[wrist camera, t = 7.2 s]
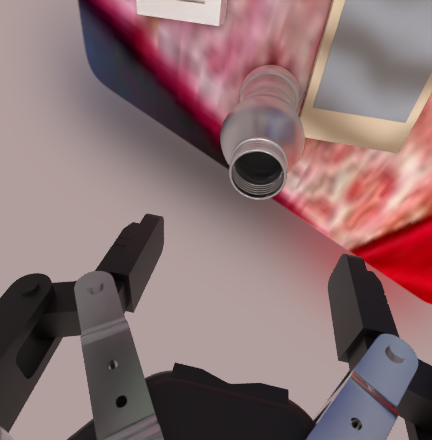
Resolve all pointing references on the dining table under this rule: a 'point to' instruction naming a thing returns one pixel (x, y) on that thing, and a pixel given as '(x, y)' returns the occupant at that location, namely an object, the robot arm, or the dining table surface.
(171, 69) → the dining table surface
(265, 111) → the plastic bottle
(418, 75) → the board
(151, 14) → the button housing
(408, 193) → the dining table surface
